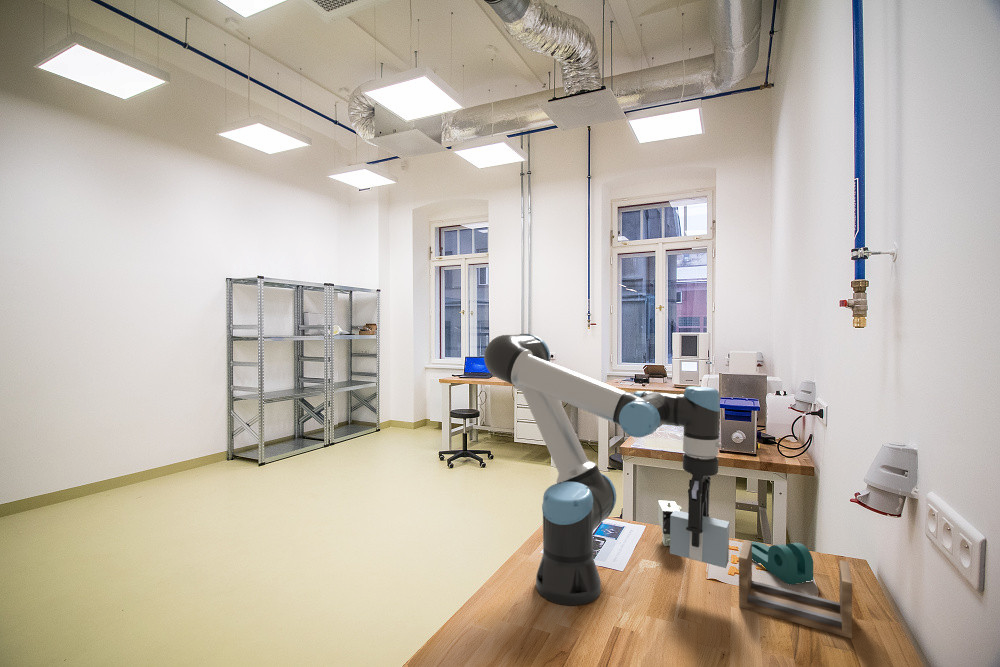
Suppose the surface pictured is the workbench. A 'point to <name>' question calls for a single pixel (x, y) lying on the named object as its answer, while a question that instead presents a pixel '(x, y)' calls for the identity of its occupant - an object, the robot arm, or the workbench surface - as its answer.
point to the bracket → (785, 561)
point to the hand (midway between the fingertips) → (697, 554)
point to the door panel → (712, 538)
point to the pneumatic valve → (666, 518)
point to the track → (797, 599)
